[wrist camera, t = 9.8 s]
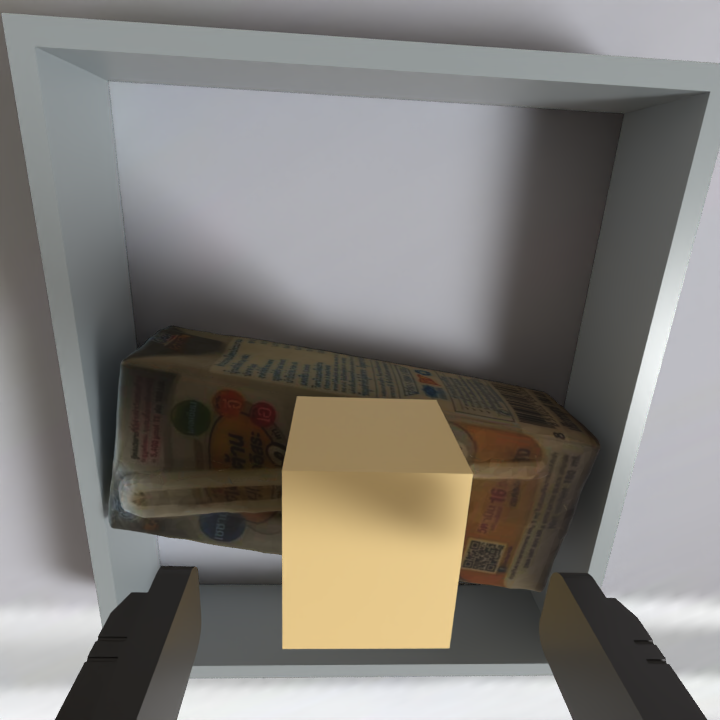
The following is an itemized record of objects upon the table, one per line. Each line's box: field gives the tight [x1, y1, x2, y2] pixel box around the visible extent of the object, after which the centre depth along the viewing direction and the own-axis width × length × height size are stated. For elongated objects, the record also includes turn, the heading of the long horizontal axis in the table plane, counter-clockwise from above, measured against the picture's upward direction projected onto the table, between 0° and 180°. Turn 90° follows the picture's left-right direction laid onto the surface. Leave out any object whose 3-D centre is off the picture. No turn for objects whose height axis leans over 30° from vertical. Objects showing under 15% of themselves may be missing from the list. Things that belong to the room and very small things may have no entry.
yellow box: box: [282, 396, 473, 649], centre depth 16 cm, size 6×5×5 cm
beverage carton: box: [108, 326, 601, 592], centre depth 22 cm, size 8×19×7 cm, turn 78°
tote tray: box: [1, 13, 720, 679], centre depth 22 cm, size 27×23×5 cm
